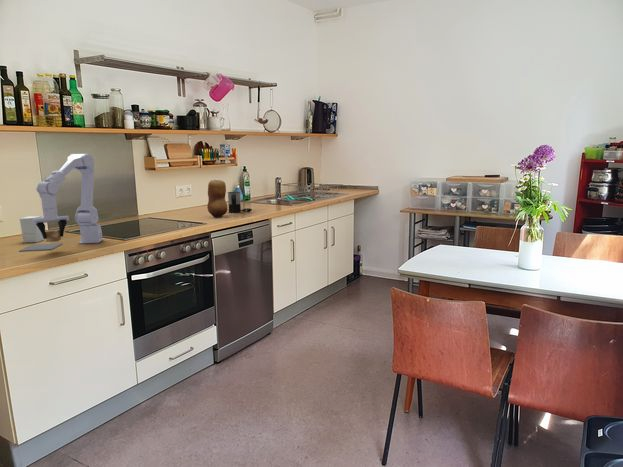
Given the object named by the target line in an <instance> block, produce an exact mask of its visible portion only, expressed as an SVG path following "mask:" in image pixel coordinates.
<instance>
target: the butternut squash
mask: <svg viewBox="0 0 623 467" xmlns="http://www.w3.org/2000/svg"><path fill="white" fill-rule="evenodd" d="M226 193H227V186H226V182H225V181H223V180H221V179H220V180H219V179H217V180H216V179H212V180H210V181H209V182H208V186H207V197H208V202H207V204H206V206H207V207H206V208H207V211H208V213H209V214H210V215H211V216H212V217H213V218H215V219H217V218H221V217H223V216H224V215H225V214H227V212H228V211H229V208H228V204H227V201H226V195H227V194H226Z"/></svg>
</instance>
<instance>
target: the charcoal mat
mask: <svg viewBox="0 0 623 467" xmlns="http://www.w3.org/2000/svg"><path fill="white" fill-rule="evenodd" d="M62 245H63V242H56V243H55V242H53V243H34V244H30V245H28V246H26V247H23V248H22V249H19V250H18V252H19V253H20V252H38V251H39V252H40V251H53V250H54V249H56V248H58V247H60V246H62Z"/></svg>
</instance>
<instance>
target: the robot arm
mask: <svg viewBox="0 0 623 467" xmlns="http://www.w3.org/2000/svg"><path fill="white" fill-rule="evenodd" d="M74 169H76V170H77V171H79V173H81V190H80V191H81V192H80V205H79V206H78V207H77V208H76V212H75V215H74V221H75V222H76V223H77V224H78V226H79V232H80V241H79V242H78V244H81V245H82V244H99V243H100V242H102V241H103V232H102V227H101V224H97V223H98V222H99V213H98V209H97V208H96V207H95V206H94V184H95V180H94V179H95V159H94V157H93V156H92V154H90V153H71V154H70V155H69V156H67V159H66V162H65V163H64V164H63V165H62V166H61V167H60V169H59V170H54V171H51V174H50V175H49V176H48V177H46V178H45V179H44V180H43V181H41V182H39V183H38V184H37V187H36V192H37V193H38V195H39V198H40V199H41V200H40V201H41V207H42V208H41V209H42V216H43V217H42V218H40V219H33V220H32V221H33V224H36V225H37V227H38V228H39V230H40V231H41V233H42V236H43V239H44V240H46V233H45V232H46V223H54V222H57V223H58V224H57V225H58V228H59V229H58V230H60V235H61V238H62V237H63V238H64V233H65V228H66V226H67V223H68V221H70V217H69V215H62V216H61V215H60V216H59V215H58V205H57V197H56V193H58V192H59V191H58V190H59V187H60V186H61V185H62V183H63V182H64V181H65V180H66V176H67V175H68V174H69V173H71V171H73V170H74Z"/></svg>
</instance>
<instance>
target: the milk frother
mask: <svg viewBox="0 0 623 467" xmlns="http://www.w3.org/2000/svg"><path fill="white" fill-rule="evenodd" d="M226 193H227V198H228V199H227V202H228V204H227V205H228V213H229V214H238V213H242V212H244V213H246V212H247V213H251V212H252V211H253V209H252V208H243V209H242V208H241V194H240V193H241V191H228V192H227V191H226Z"/></svg>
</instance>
